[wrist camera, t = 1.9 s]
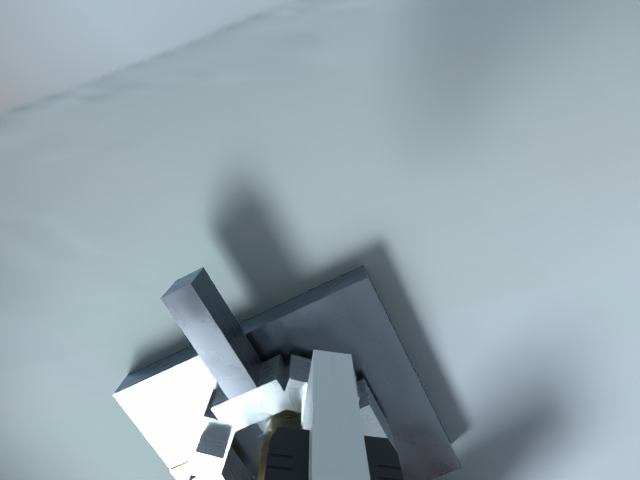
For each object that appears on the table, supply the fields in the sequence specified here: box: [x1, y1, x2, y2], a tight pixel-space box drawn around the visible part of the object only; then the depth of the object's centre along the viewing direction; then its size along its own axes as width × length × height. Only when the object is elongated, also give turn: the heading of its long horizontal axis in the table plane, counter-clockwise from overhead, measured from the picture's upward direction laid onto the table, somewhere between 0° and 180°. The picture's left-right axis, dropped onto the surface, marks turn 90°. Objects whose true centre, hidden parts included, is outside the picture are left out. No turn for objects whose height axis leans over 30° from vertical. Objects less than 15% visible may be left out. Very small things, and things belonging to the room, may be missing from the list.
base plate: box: [113, 266, 461, 480], centre depth 24 cm, size 18×16×9 cm
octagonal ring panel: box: [161, 267, 396, 480], centre depth 23 cm, size 19×12×4 cm, turn 26°
